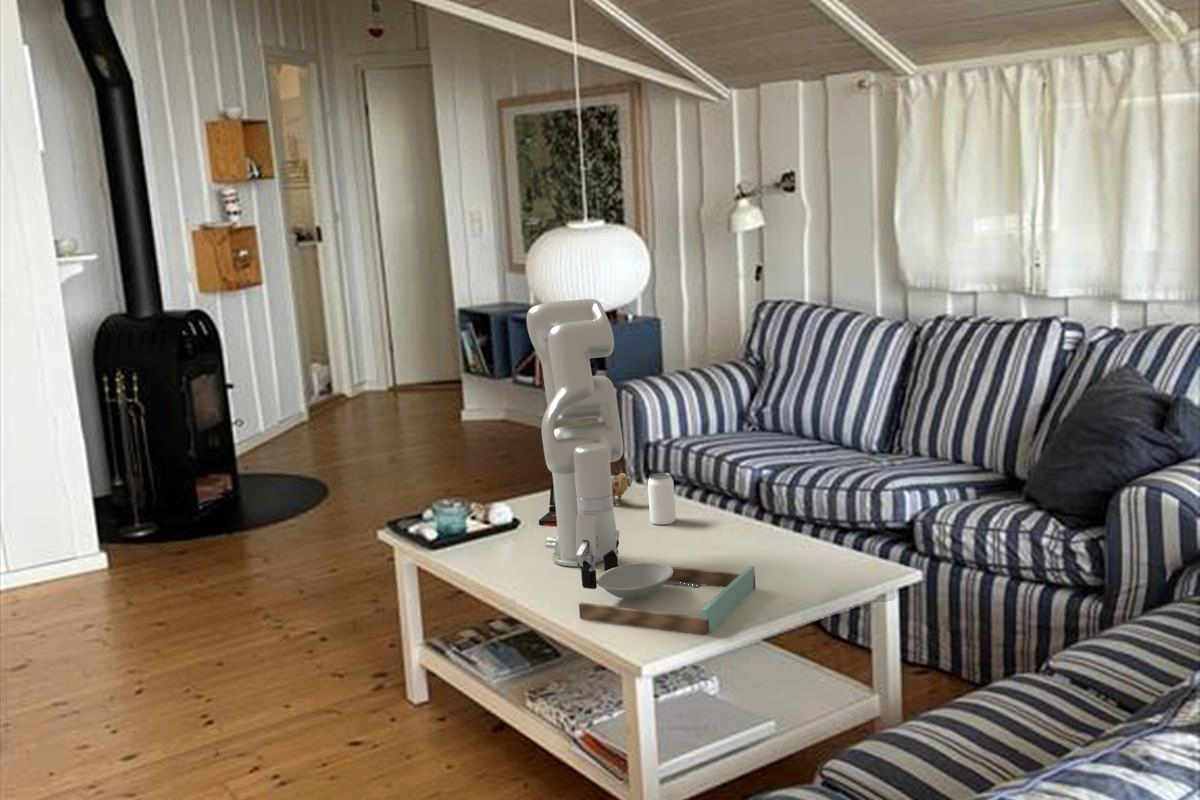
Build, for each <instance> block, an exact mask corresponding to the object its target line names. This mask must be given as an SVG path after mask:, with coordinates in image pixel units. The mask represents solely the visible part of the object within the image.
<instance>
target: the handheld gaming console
mask: <svg viewBox="0 0 1200 800" xmlns="http://www.w3.org/2000/svg"><path fill="white" fill-rule="evenodd" d="M538 525H539V526H540V525H542V526H543V525H550V526H549V527H557V518H556V506H555V495H554V484H553V477H552V478H551V480H550V493H549V508H548V512H547V513H546V514H544V515H543V516H542V517H541V518H540V519H539V520H538Z"/></svg>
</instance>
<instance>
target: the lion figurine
mask: <svg viewBox="0 0 1200 800" xmlns="http://www.w3.org/2000/svg"><path fill="white" fill-rule="evenodd" d="M611 483H612V497H613V508H615V507H617V504H618V505H623V504H624V501H622V496H623V495H624V494H625V493H626V491H627V490H628V488H631V486H632V484H633V480H632V479H630V478H629V477H627V474H626V473H624V472H621V473H619V474H616V475H614V476H611ZM616 497H617V504H616Z"/></svg>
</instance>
